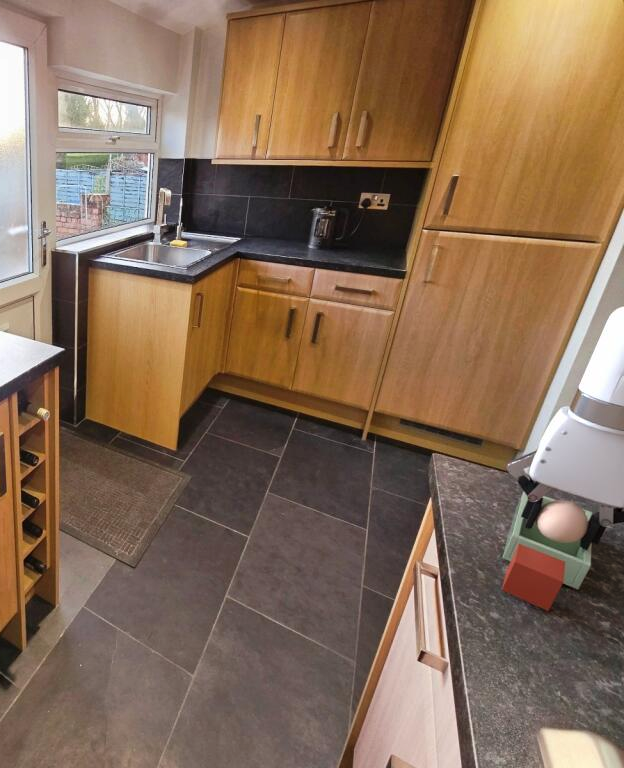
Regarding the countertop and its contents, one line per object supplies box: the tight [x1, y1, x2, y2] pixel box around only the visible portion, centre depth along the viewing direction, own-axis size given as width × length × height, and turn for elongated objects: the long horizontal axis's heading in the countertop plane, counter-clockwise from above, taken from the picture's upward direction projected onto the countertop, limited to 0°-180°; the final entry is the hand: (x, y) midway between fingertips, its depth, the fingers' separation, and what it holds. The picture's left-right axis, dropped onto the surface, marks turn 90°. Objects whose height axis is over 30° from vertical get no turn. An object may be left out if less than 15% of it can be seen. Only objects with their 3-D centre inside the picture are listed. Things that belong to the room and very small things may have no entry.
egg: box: [535, 499, 588, 543], centre depth 65 cm, size 5×5×6 cm
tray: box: [502, 490, 593, 590], centre depth 69 cm, size 8×15×4 cm, turn 137°
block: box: [501, 544, 565, 612], centre depth 61 cm, size 5×5×5 cm
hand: (555, 532), depth 66 cm, fingers closed on egg, 5 cm apart
